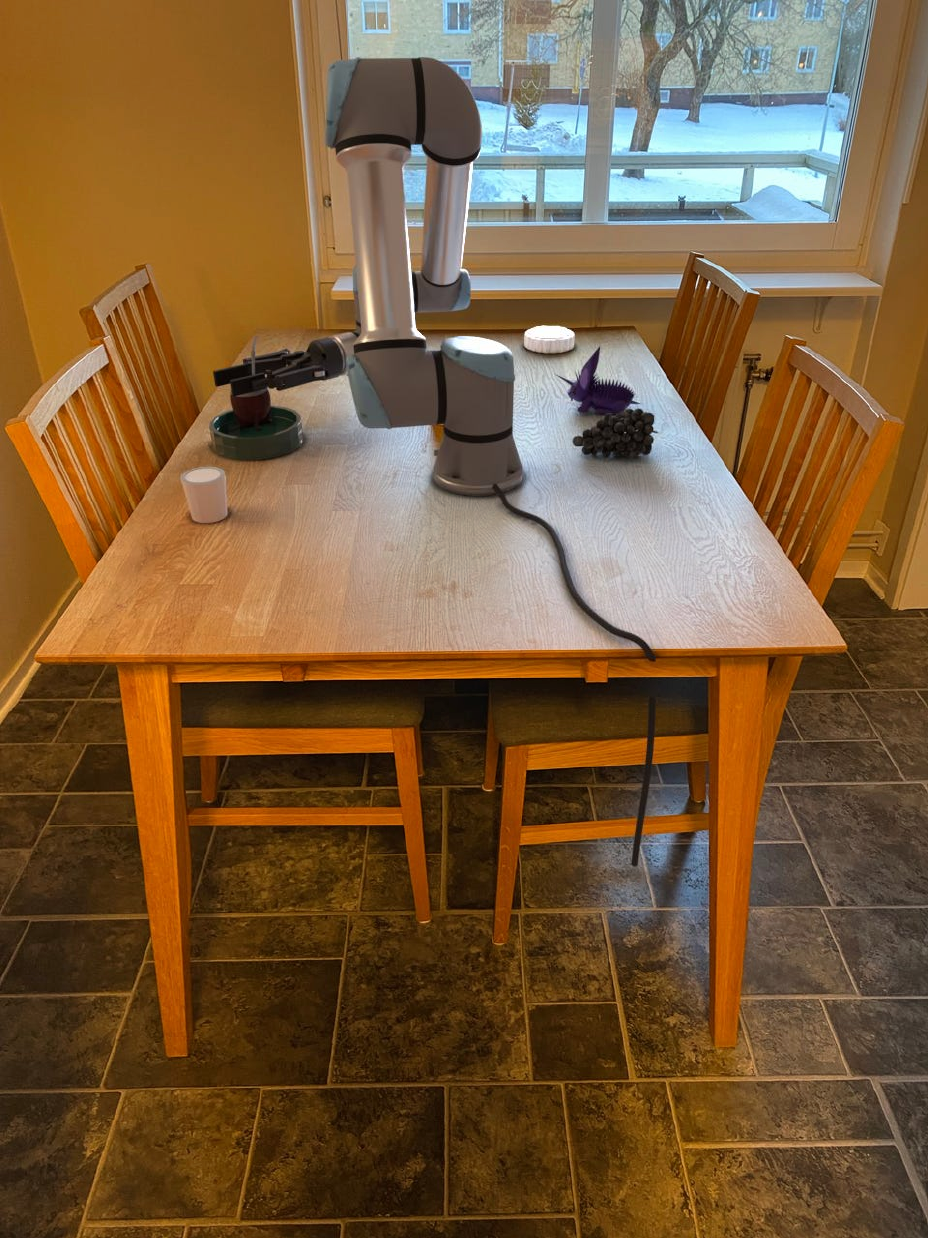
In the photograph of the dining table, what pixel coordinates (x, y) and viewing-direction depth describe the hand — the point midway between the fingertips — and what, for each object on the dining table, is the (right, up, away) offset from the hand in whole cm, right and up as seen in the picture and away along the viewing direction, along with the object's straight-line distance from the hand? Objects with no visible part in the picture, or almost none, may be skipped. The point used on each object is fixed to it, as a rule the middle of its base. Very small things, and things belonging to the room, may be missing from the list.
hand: (223, 383), depth 165 cm
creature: (+69, 0, +22) cm, 73 cm away
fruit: (+70, -12, +4) cm, 71 cm away
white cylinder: (+2, -25, -16) cm, 30 cm away
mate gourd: (+4, -6, +8) cm, 11 cm away
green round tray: (+4, -9, +9) cm, 13 cm away
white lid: (+63, +24, +58) cm, 89 cm away
